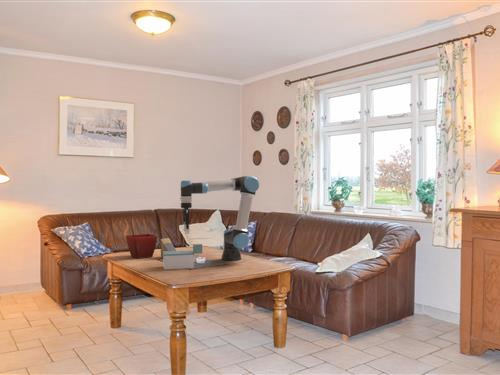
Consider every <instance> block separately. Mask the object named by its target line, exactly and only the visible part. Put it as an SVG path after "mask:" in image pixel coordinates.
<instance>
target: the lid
mask: <svg viewBox="0 0 500 375" xmlns="http://www.w3.org/2000/svg"><path fill="white" fill-rule="evenodd" d="M195 254H203V243H193V244H192V249H191V250H176V251H163V255H164V256H174V255H194V256H195Z"/></svg>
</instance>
